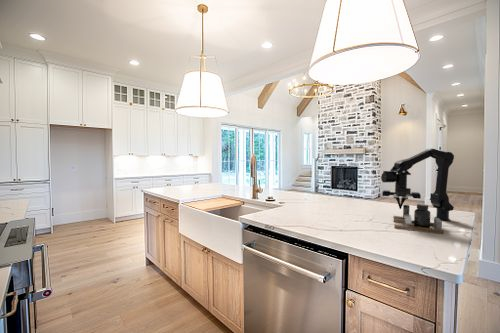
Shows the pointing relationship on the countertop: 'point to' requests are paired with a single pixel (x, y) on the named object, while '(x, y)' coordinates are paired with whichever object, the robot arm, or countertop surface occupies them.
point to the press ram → (406, 215)
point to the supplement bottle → (422, 216)
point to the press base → (436, 224)
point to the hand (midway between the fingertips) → (400, 208)
